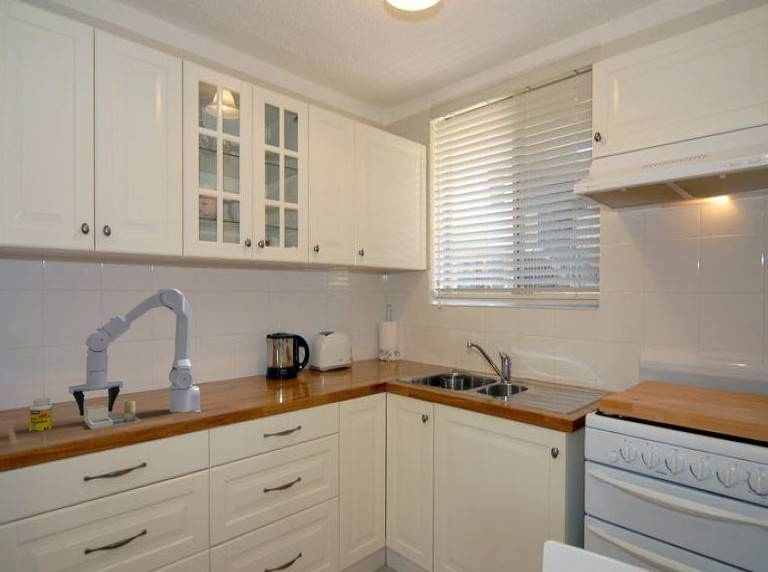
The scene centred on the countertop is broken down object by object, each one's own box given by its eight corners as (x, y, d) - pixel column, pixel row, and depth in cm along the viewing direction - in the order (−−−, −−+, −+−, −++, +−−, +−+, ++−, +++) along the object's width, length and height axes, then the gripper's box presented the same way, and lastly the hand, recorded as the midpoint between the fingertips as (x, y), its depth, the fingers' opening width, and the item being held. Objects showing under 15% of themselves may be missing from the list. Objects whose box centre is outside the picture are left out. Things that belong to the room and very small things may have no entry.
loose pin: (133, 419, 148) (133, 400, 148) (136, 421, 145) (136, 402, 146) (123, 420, 146) (123, 401, 146) (125, 422, 143) (125, 403, 144)
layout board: (131, 416, 155) (132, 404, 155) (142, 424, 145) (142, 411, 145) (83, 424, 146) (83, 411, 146) (91, 433, 136) (91, 419, 136)
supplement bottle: (26, 436, 133) (26, 401, 133) (32, 431, 138) (32, 397, 138) (49, 434, 135) (50, 399, 136) (54, 429, 140) (55, 396, 141)
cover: (104, 418, 149) (104, 404, 149) (108, 421, 145) (108, 407, 145) (84, 421, 145) (84, 407, 145) (87, 424, 141) (88, 410, 141)
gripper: (119, 366, 153) (119, 407, 153) (67, 371, 143) (66, 414, 143) (125, 369, 148) (124, 411, 148) (71, 373, 138) (70, 419, 138)
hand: (96, 413), depth 145 cm, fingers open, 7 cm apart
